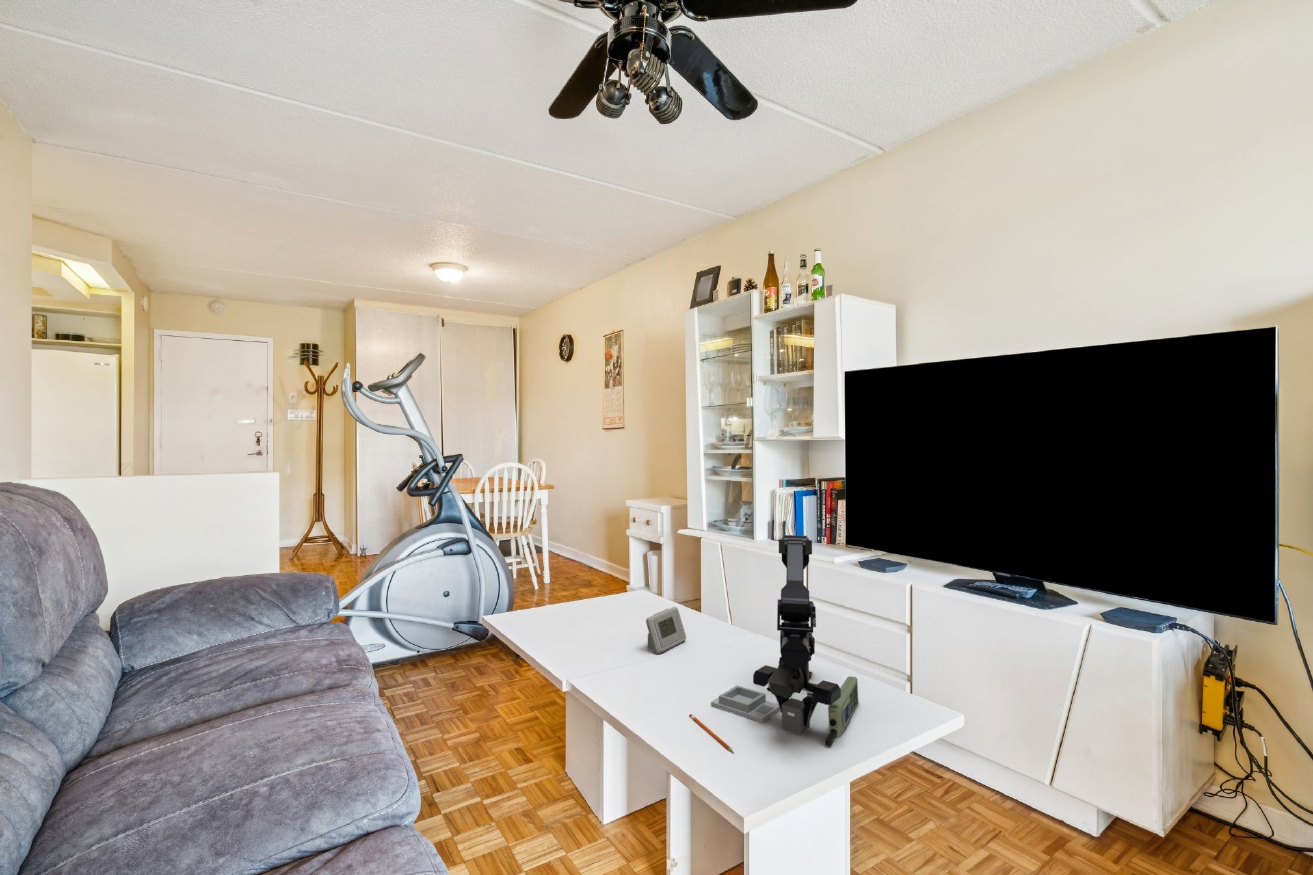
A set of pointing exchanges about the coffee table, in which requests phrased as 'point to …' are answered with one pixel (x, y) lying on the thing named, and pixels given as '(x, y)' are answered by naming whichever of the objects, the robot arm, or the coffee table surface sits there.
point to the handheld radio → (842, 709)
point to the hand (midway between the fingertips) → (795, 722)
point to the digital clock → (665, 630)
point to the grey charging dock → (746, 704)
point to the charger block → (793, 716)
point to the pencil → (711, 733)
